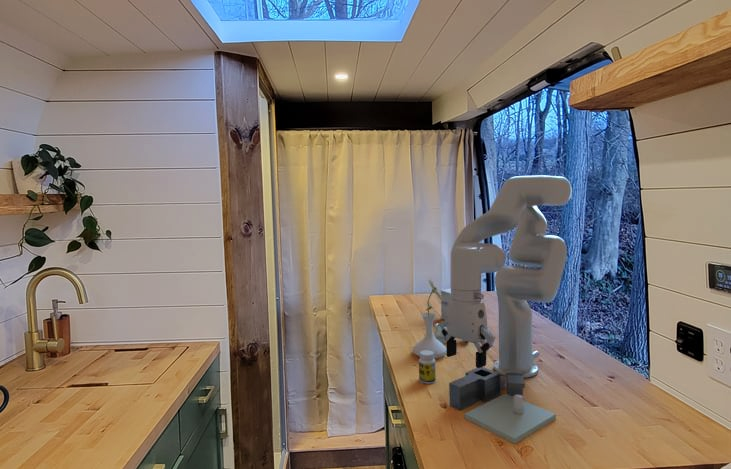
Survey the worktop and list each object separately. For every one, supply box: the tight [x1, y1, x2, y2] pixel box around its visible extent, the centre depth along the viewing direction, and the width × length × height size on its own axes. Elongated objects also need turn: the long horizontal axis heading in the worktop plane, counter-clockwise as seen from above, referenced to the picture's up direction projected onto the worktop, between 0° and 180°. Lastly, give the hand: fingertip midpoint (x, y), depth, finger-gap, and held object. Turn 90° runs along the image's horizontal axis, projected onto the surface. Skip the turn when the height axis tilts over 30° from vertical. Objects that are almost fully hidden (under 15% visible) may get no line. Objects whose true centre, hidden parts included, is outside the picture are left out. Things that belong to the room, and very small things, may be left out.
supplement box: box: [440, 287, 451, 321], centre depth 184 cm, size 7×7×13 cm
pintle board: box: [464, 372, 557, 445], centre depth 107 cm, size 20×15×6 cm
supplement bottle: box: [418, 350, 437, 385], centre depth 128 cm, size 5×5×8 cm
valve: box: [433, 322, 469, 345], centre depth 159 cm, size 7×7×12 cm
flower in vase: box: [412, 279, 447, 359], centre depth 147 cm, size 13×11×25 cm
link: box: [448, 366, 506, 411], centre depth 117 cm, size 18×6×6 cm, turn 126°
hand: (465, 361), depth 113 cm, fingers open, 9 cm apart
